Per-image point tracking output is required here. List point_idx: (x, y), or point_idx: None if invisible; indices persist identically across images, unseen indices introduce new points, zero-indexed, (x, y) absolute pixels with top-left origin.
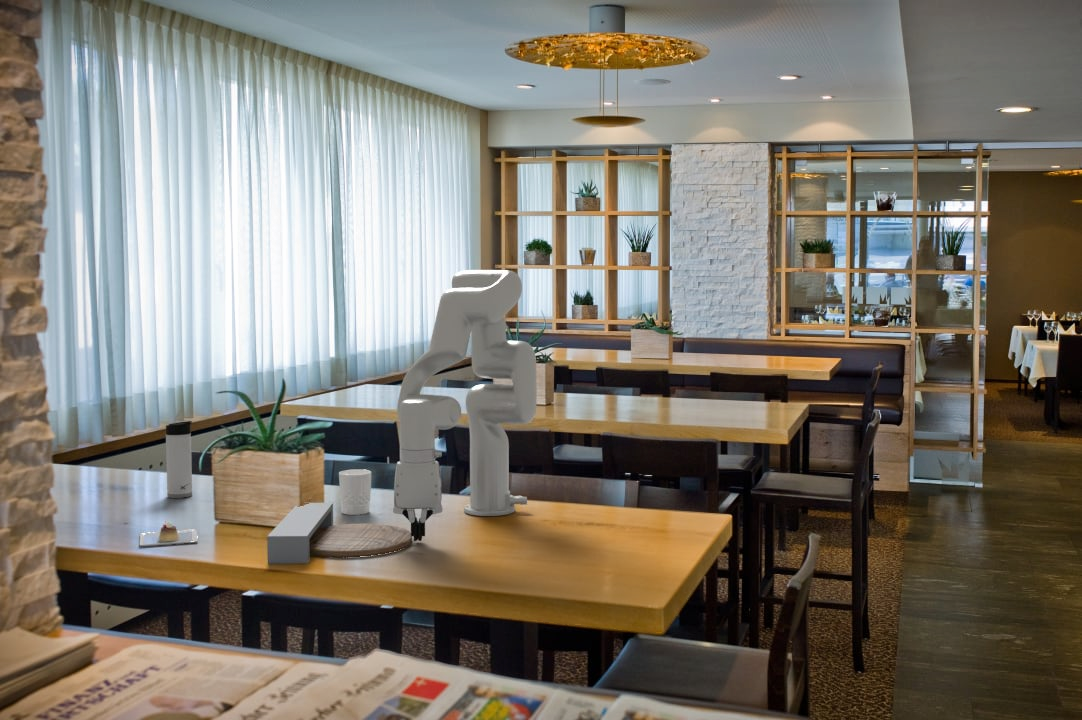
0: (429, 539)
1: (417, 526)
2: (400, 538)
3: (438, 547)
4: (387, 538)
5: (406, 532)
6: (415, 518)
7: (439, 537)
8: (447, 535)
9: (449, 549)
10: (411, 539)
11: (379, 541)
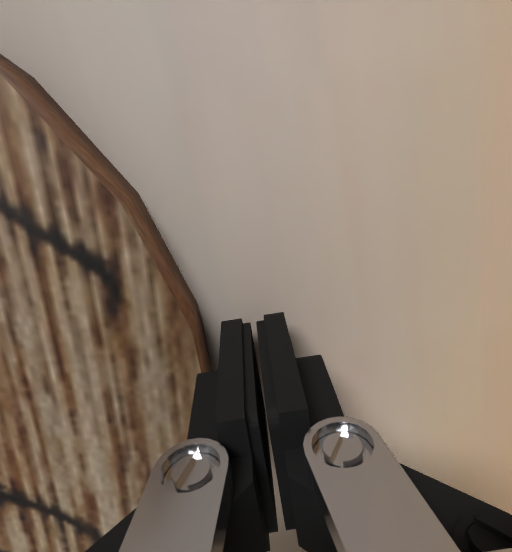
0: (325, 223)
1: (267, 456)
2: (140, 461)
3: (419, 431)
4: (37, 474)
5: (113, 263)
6: (250, 545)
7: (403, 138)
8: (475, 41)
9: (491, 462)
10: (204, 357)
11: (20, 549)
